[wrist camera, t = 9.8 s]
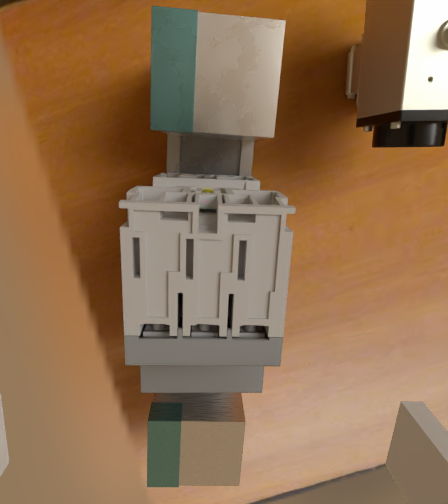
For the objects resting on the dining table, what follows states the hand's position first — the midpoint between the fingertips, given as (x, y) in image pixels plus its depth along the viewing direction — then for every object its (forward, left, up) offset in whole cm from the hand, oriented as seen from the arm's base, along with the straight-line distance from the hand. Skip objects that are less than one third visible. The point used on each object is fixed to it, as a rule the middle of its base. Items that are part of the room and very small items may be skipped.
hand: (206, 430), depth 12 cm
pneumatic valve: (-16, +13, -23) cm, 30 cm away
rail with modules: (0, 0, -22) cm, 22 cm away
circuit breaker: (0, 0, -21) cm, 21 cm away
